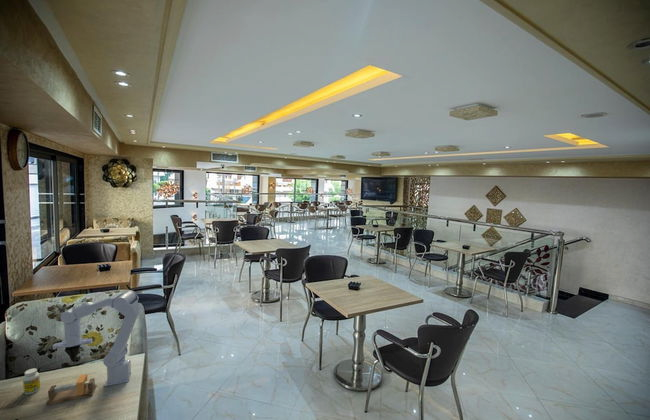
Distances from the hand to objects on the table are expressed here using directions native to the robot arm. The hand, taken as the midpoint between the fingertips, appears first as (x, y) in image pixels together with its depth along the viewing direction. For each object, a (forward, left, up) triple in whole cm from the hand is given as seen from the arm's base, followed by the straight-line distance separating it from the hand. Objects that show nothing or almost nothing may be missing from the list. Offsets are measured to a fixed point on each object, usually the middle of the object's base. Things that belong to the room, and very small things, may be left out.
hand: (73, 360), depth 144 cm
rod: (-2, +12, -7) cm, 14 cm away
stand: (-2, +12, -10) cm, 16 cm away
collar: (-6, +11, -9) cm, 16 cm away
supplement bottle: (+15, +2, -11) cm, 18 cm away
